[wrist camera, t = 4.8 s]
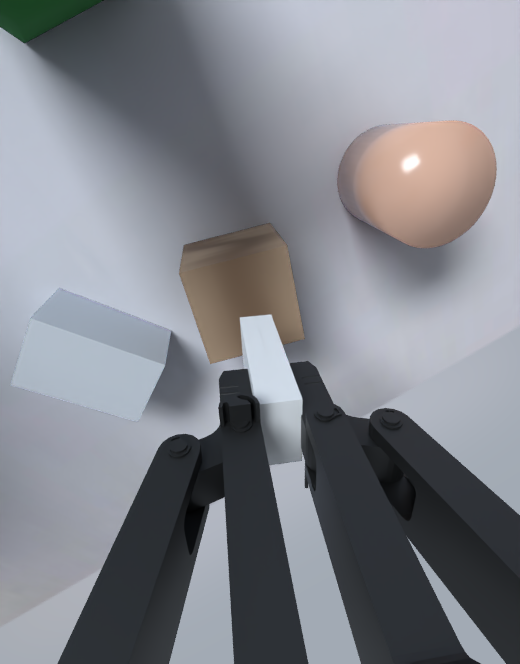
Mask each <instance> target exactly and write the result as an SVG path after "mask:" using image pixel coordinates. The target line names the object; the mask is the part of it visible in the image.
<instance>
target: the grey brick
mask: <svg viewBox="0 0 520 664" xmlns="http://www.w3.org/2000/svg"><path fill="white" fill-rule="evenodd" d="M170 335H171V330H169V329H166V328H164V327H161V326H159V325H156V324H153V323H151V322H148V321H145V320H143V319H140V318H138V317H135V316H132V315H130V314H127V313H124V312H122V311H119V310H117V309H114V308H111V307H109V306H106V305H103V304H101V303H98V302H96V301H93V300H90V299H88V298H85V297H82V296H80V295H77V294H75V293H72V292H69V291H67V290H64V289H62V288H59V289H58V290H57V291H56V292H55V293H54V294H53V295H52V296H51V297H50V298H49V299H48V300H47V301H46V302H45V303H44V304H43V305H42V306H41V307H40V309H39V310H38V311H37V312H36V313H35V314H34V315H33V316H32V317H31V318H30V321H29V324H28V328H27V331H26V334H25V338H24V341H23V344H22V348H21V351H20V354H19V358H18V361H17V364H16V368H15V371H14V374H13V378H12V381H11V384H10V385H11V386H15V387H18V388H21V389H25V390H28V391H32V392H35V393H39V394H42V395H46V396H49V397H52V398H56V399H59V400H63V401H66V402H70V403H73V404H77V405H80V406H83V407H87V408H90V409H94V410H97V411H101V412H104V413H107V414H111V415H114V416H118V417H121V418H125V419H128V420H132V421H135V422H138V421H139V419H140V417H141V415H142V413H143V411H144V408H145V406H146V404H147V402H148V400H149V398H150V396H151V394H152V392H153V390H154V388H155V386H156V383H157V381H158V379H159V377H160V375H161V373H162V371H163V369H164V367H165V364H166V358H167V352H168V346H169V340H170Z"/></svg>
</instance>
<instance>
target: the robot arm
mask: <svg viewBox="0 0 520 664" xmlns="http://www.w3.org/2000/svg"><path fill="white" fill-rule="evenodd" d="M240 327H241V340H242V353H243V366H244V369H240V370H231V371H223V373H222V375H221V376H220V378H219V388H220V403H219V407H218V409H219V417H220V426H219V428H218V429H217V430H216V431H215V432H214V433H212V434H211V435H209V436H207V437H205V438H202V439H200V440H198V439H197V438H196V437H194V436H193V435H188V434H179V435H175V436H172V437H170V438H168V439H167V440H165V441H164V442H163V443H162V444H161V445H160V447H159V448H158V450H157V452H156V454H155V457H154V459H153V461H152V463H151V465H150V467H149V469H148V472H147V474H146V476H145V478H144V480H143V482H142V484H141V487H140V489H139V491H138V493H137V495H136V497H135V499H134V501H133V504H132V506H131V508H130V510H129V512H128V514H127V516H126V519H125V521H124V523H123V525H122V527H121V529H120V531H119V534H118V536H117V538H116V540H115V542H114V544H113V546H112V548H111V551H110V553H109V555H108V557H107V559H106V561H105V563H104V566H103V568H102V570H101V572H100V574H99V576H98V578H97V581H96V583H95V585H94V587H93V589H92V592H91V593H90V596H89V598H88V600H87V602H86V604H85V606H84V608H83V610H82V613H81V615H80V617H79V619H78V621H77V623H76V625H75V628H74V630H73V632H72V634H71V636H70V638H69V640H68V643H67V645H66V647H65V649H64V651H63V653H62V655H61V657H60V660H59V662H58V664H169V661H170V657H171V653H172V649H173V646H174V642H175V638H176V634H177V630H178V626H179V623H180V619H181V615H182V611H183V607H184V603H185V599H186V596H187V592H188V588H189V584H190V580H191V576H192V572H193V569H194V565H195V561H196V557H197V553H198V549H199V545H200V541H201V538H202V534H203V530H204V526H205V522H206V518H207V514H208V511H209V504H210V503H212V502H215V501H217V500H219V499H221V498H223V497H225V509H226V526H227V527H226V528H227V544H228V561H229V562H228V563H229V581H230V597H231V615H232V633H233V649H234V650H233V651H234V664H308V660H307V655H306V649H305V645H304V639H303V634H302V629H301V624H300V619H299V614H298V609H297V604H296V599H295V594H294V589H293V584H292V579H291V574H290V568H289V564H288V558H287V553H286V548H285V543H284V538H283V533H282V528H281V523H280V518H279V513H278V508H277V503H276V498H275V493H274V488H273V482H272V478H271V473H270V467H269V465H274V464H281V463H289V462H296V461H302V452H303V455H304V459H305V488H308V484H309V487H310V491H311V494H312V497H313V501H314V504H315V508H316V511H317V515H318V518H319V522H320V525H321V528H322V531H323V535H324V538H325V542H326V545H327V549H328V552H329V555H330V559H331V562H332V566H333V569H334V573H335V576H336V579H337V583H338V586H339V590H340V593H341V596H342V600H343V603H344V606H345V610H346V614H347V617H348V620H349V624H350V627H351V630H352V634H353V637H354V641H355V644H356V647H357V651H358V654H359V658H360V661H361V664H480V663H479V662H476V661H475V660H473V659H471V658H470V657H469V656H468V655H467V654H466V652H465V651H464V649H463V648H462V646H461V644H460V642H459V640H458V638H457V636H456V634H455V632H454V630H453V628H452V626H451V624H450V622H449V620H448V618H447V616H446V614H445V612H444V611H443V608H442V606H441V604H440V602H439V600H438V598H437V596H436V594H435V592H434V590H433V588H432V586H431V584H430V582H429V580H428V578H427V576H426V574H425V572H424V570H423V568H422V566H421V564H420V562H419V560H418V558H417V556H416V554H415V552H414V550H413V548H412V546H411V544H410V542H409V540H410V541H411V542H412V544H413V545H414V546H415V547H416V549H417V550H418V551H419V553H420V554H421V555H422V556H423V558H424V559H425V560H426V561H427V563H428V564H429V565H430V567H431V568H432V569H433V570H434V572H435V573H436V574H437V576H438V577H439V578H440V579H441V581H442V582H443V583H444V585H445V586H446V587H447V588H448V590H449V591H450V592H451V593H452V595H453V596H454V597H455V599H456V600H457V601H458V603H459V604H460V605H461V606H462V608H463V609H464V610H465V611H466V613H467V614H468V615H469V617H470V618H471V619H472V620H473V622H474V623H475V624H476V625H477V627H478V628H479V629H480V631H481V632H482V633H483V634H484V636H485V637H486V638H487V640H488V641H489V642H490V643H491V645H492V646H493V647H494V649H495V650H496V651H497V652H498V654H499V655H500V656H501V658H502V659H503V660H504V661H505V663H506V664H520V515H519V514H517V513H516V512H515V511H514V510H513V509H512V508H511V507H510V506H508V505H507V504H506V503H505V502H504V501H503V500H502V499H500V498H499V497H498V496H497V495H496V494H495V493H494V492H493V491H492V490H490V489H489V488H488V487H487V486H486V485H485V484H484V483H483V482H481V481H480V480H479V479H478V478H477V477H476V476H475V475H474V474H472V473H471V472H470V471H469V470H468V469H467V468H466V467H464V466H463V465H462V464H461V463H460V462H459V461H458V460H457V459H455V458H454V457H453V456H452V455H451V454H450V453H449V452H448V451H446V450H445V449H444V448H443V447H442V446H441V445H440V444H438V443H437V442H436V441H435V440H434V439H432V437H431V436H430V435H428V434H427V433H426V432H425V431H424V430H423V429H422V428H420V427H419V426H418V425H417V424H416V423H415V422H414V421H413V420H412V419H410V418H409V417H408V416H407V415H405V414H404V413H402V412H400V411H397V410H395V409H387V408H384V409H378V410H376V411H374V412H373V413H372V414H371V416H370V419H365V418H356V417H351V416H348V415H346V414H345V412H344V411H343V410H342V409H341V408H340V407H338V406H337V405H335V404H333V402H332V399H331V397H330V395H329V393H328V391H327V389H326V387H325V385H324V383H323V381H322V379H321V377H320V375H319V372H318V370H317V368H316V367H315V366H314V365H312V364H311V363H310V362H308V361H306V362H297V363H289V361H288V359H287V356H286V353H285V351H284V348H283V345H282V342H281V340H280V337H279V334H278V332H277V329H276V326H275V324H274V321H273V318H272V315H260V316H249V317H240ZM407 537H408V538H409V540H408V538H407Z"/></svg>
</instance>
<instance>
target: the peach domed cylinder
mask: <svg viewBox="0 0 520 664" xmlns="http://www.w3.org/2000/svg"><path fill="white" fill-rule="evenodd" d="M496 170H497V168H496V158H495V153H494V150H493V147H492V145H491V143H490V141H489V139H488V138H487V137H486V136H485V134H484V133H483V132H482V131H481V130H479V129H478V128H477V127H475V126H473V125H471V124H469V123H466V122H462V121H436V122H420V123H405V124H389V125H380V126H376V127H373V128H371V129H369V130H367V131H365V132H364V133H362V134H361V135H359V136H358V137H357V138H356V139H355V140H354V141H353V142H352V143H351V145H350V146H349V147H348V149H347V150H346V152H345V154H344V156H343V158H342V160H341V163H340V166H339V170H338V177H337V186H338V192H339V196H340V199H341V201H342V203H343V205H344V207H345V208H346V209H347V210H348V212H349V213H351V214H352V215H353V216H355V217H356V218H358V219H360V220H362V221H363V222H365V223H367V224H369V225H371V226H373V227H375V228H377V229H378V230H380V231H382V232H384V233H386V234H388V235H390V236H392V237H393V238H395V239H397V240H399V241H401V242H403V243H405V244H407V245H409V246H413V247H417V248H433V247H438V246H442V245H445V244H447V243H449V242H451V241H453V240H455V239H457V238H458V237H460V236H461V235H463V234H464V233H465V232H466V231H467V230H469V229H470V228H471V227H472V226H473V225H474V223H475V222H476V221H477V220H478V219H479V217H480V216H481V215H482V213H483V211H484V210H485V208H486V206H487V204H488V202H489V200H490V198H491V195H492V193H493V189H494V186H495V180H496Z"/></svg>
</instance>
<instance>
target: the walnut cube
mask: <svg viewBox="0 0 520 664" xmlns="http://www.w3.org/2000/svg"><path fill="white" fill-rule="evenodd" d="M179 275H180V277H181V280H182V283H183V286H184V289H185V292H186V295H187V298H188V301H189V304H190V306H191V309H192V312H193V315H194V318H195V321H196V324H197V327H198V330H199V332H200V335H201V338H202V341H203V344H204V347H205V350H206V353H207V356H208V359H209V361H210V364H212V363H216V362H219V361H223V360H227V359H231V358H235V357H238V356H242V355H243V353H242V340H241V327H240V317H249V316H260V315H272V318H273V321H274V324H275V326H276V329H277V332H278V334H279V337H280V340H281V342H282V345H284V344H288V343H292V342H295V341H299V340H303V339H305V337H304V332H303V327H302V321H301V316H300V311H299V306H298V300H297V295H296V290H295V284H294V279H293V274H292V269H291V263H290V258H289V253H288V248H287V244H286V243H285V242H284V241H283V239H282V238H281V237H280V235H279V234H278V233H277V231H276V230H275V229H274V228H273V226H272V225H271V224H270V223H267V224H264V225H260V226H256V227H252V228H248V229H244V230H240V231H236V232H233V233H229V234H225V235H221V236H217V237H213V238H209V239H206V240H202V241H198V242H194V243H190V244H186V245H184V248H183V253H182V259H181V265H180V271H179Z"/></svg>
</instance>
